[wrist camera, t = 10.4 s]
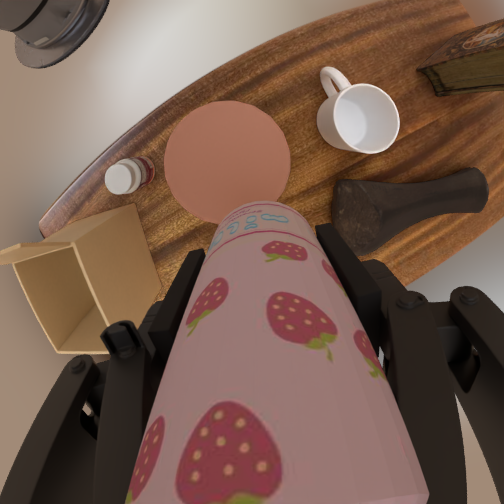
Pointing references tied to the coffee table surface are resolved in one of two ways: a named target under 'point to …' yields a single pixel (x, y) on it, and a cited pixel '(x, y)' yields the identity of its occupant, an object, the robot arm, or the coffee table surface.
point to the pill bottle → (129, 175)
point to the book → (469, 62)
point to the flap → (28, 251)
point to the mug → (356, 115)
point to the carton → (91, 280)
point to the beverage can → (273, 384)
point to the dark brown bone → (400, 205)
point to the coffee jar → (226, 159)
